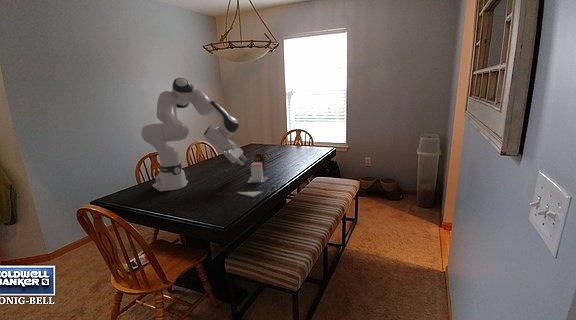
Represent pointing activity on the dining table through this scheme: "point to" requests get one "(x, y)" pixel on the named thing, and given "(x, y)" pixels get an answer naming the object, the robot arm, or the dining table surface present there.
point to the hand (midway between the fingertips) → (244, 162)
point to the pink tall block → (257, 171)
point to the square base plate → (257, 181)
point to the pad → (250, 193)
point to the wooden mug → (261, 157)
